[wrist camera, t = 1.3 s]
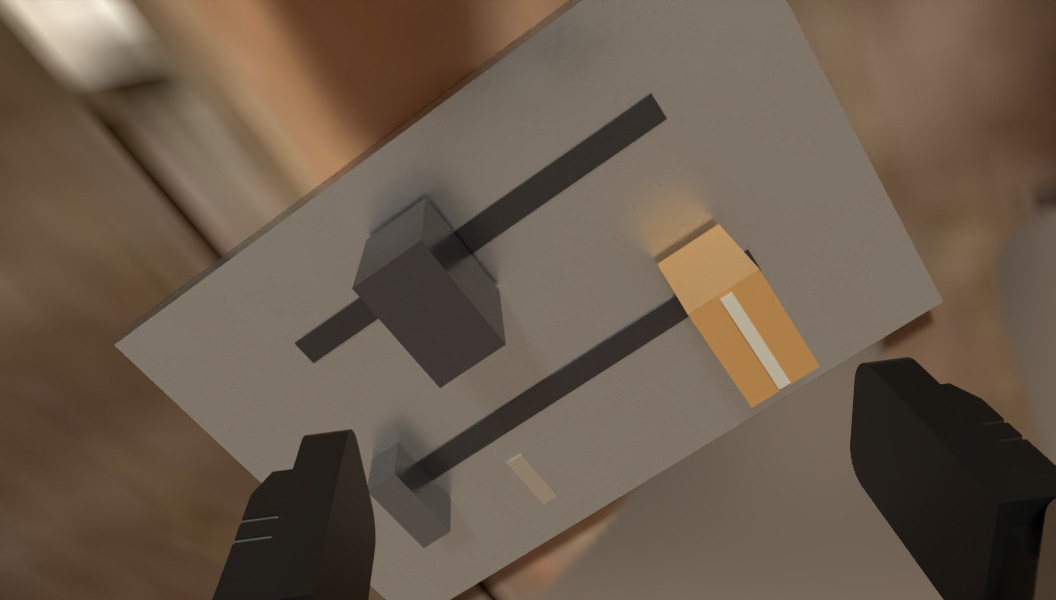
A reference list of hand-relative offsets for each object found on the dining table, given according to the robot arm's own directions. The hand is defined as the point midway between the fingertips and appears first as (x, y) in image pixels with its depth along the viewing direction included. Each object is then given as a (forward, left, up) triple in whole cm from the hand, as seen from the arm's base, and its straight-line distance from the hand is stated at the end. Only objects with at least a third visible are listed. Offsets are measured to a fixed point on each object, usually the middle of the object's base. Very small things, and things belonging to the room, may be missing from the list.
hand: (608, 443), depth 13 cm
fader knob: (-3, +10, -21) cm, 23 cm away
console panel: (+4, +7, -23) cm, 25 cm away
